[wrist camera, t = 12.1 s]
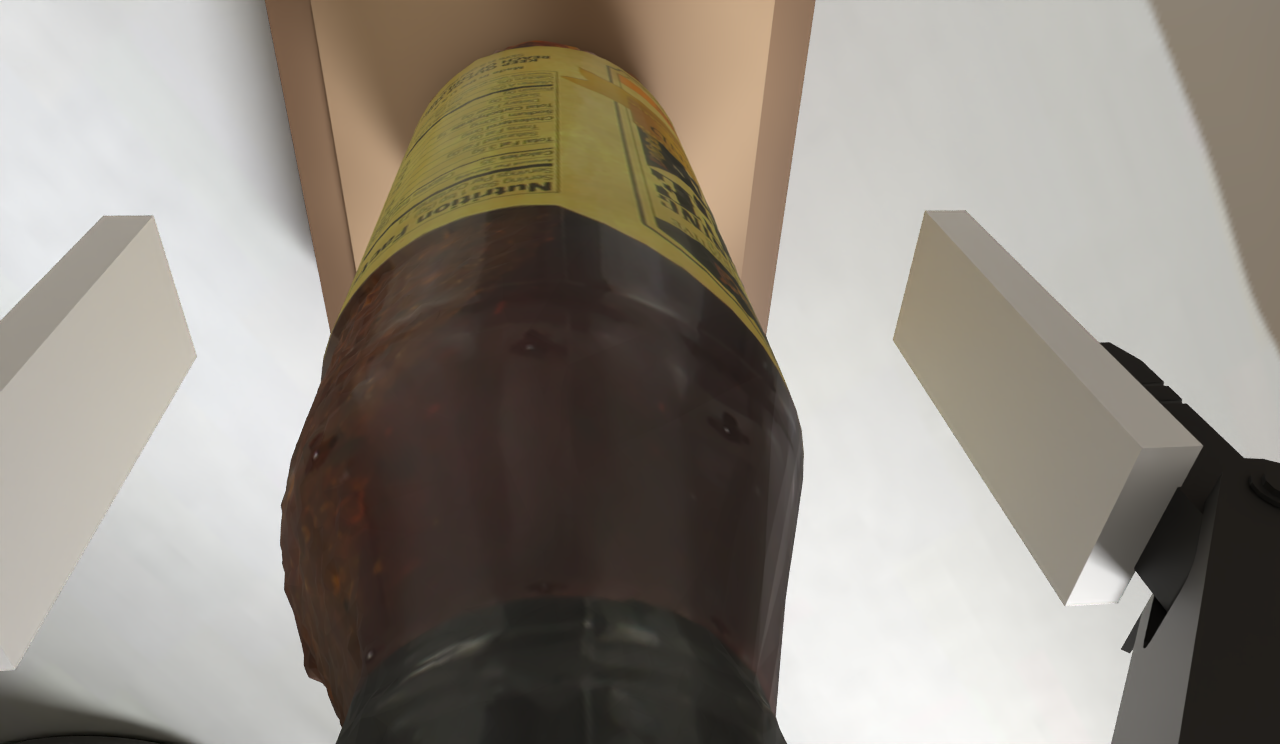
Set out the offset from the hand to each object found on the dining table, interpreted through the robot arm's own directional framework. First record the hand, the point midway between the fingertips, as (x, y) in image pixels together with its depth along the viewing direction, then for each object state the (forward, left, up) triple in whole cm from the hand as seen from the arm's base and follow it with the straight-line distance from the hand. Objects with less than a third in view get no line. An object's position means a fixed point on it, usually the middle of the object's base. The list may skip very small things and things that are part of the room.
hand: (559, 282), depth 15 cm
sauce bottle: (0, 0, -7) cm, 7 cm away
